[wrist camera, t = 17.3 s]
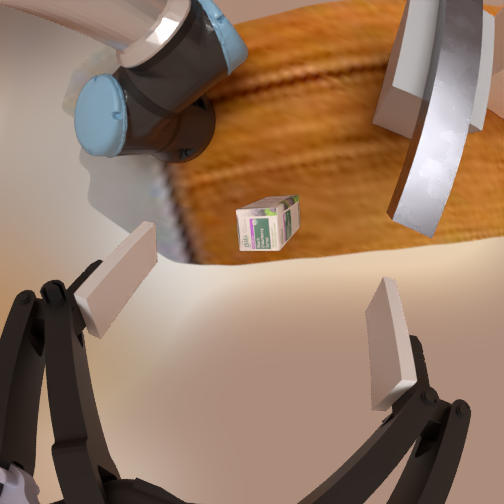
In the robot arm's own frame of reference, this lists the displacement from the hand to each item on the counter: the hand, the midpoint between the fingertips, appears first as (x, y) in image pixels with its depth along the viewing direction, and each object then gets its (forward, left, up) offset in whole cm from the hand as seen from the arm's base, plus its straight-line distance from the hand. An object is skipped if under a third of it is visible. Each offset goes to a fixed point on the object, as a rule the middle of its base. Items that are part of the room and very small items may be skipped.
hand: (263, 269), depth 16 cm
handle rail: (+8, +17, -10) cm, 22 cm away
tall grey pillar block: (+8, +22, -34) cm, 42 cm away
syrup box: (-6, -5, -35) cm, 35 cm away
